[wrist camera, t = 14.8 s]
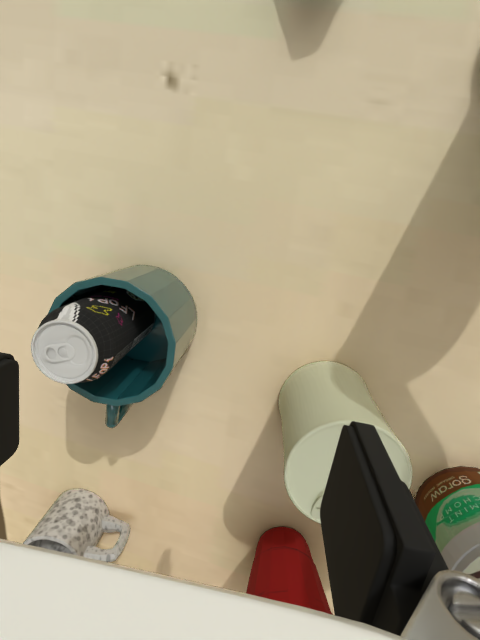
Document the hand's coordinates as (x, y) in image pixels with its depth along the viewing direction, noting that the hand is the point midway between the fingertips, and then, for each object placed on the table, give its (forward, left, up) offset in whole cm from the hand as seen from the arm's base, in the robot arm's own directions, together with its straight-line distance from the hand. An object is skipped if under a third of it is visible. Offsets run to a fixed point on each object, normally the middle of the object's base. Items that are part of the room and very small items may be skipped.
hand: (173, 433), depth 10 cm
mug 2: (+32, -2, -26) cm, 41 cm away
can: (+6, +13, -26) cm, 30 cm away
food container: (+8, +29, -26) cm, 40 cm away
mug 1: (+9, -6, -26) cm, 28 cm away
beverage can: (+8, -8, -25) cm, 28 cm away
